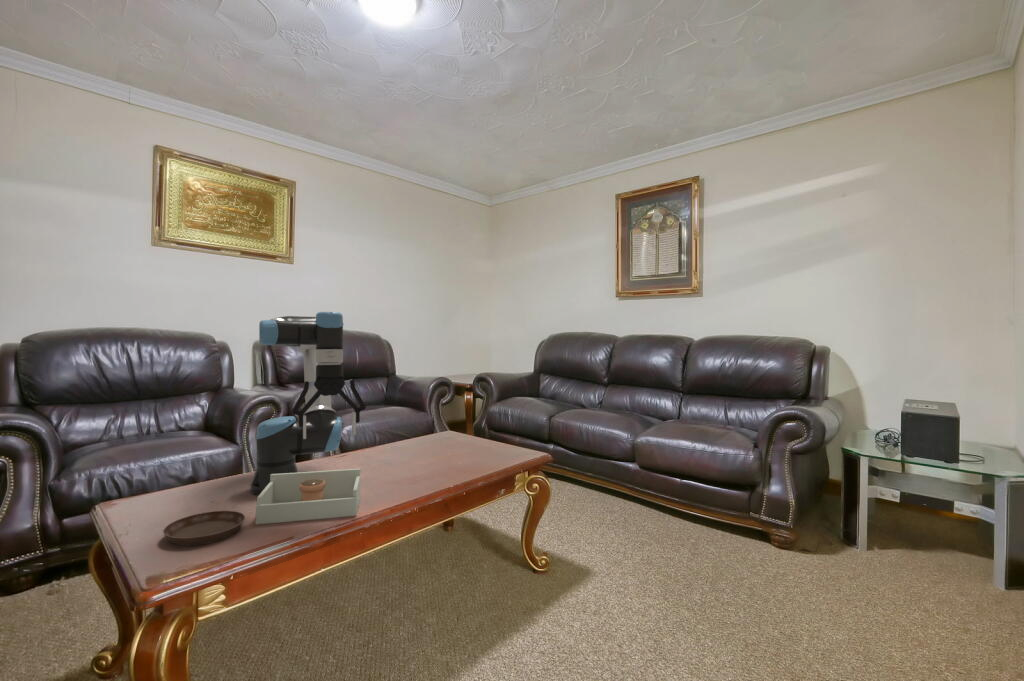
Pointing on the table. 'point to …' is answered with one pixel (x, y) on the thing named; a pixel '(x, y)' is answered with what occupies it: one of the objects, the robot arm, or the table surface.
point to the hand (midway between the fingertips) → (329, 436)
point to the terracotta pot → (312, 489)
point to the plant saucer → (203, 527)
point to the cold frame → (286, 504)
